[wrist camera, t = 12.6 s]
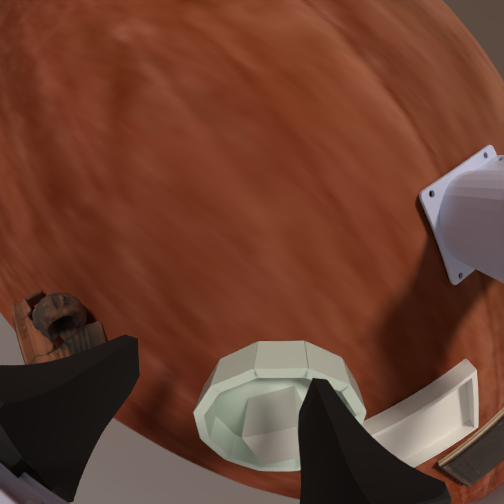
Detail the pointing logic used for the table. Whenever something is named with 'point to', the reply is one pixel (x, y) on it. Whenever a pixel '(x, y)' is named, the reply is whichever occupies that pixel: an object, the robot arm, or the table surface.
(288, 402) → the block
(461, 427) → the tray
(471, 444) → the hardcover book
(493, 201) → the robot arm
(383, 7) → the table surface
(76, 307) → the pottery mug
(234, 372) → the bowl
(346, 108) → the table surface
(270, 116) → the table surface
